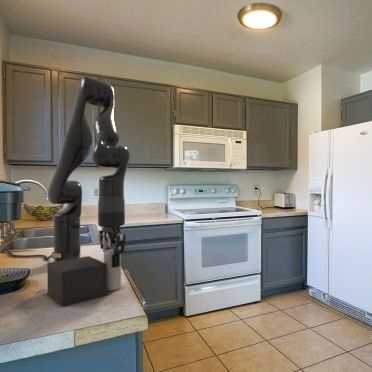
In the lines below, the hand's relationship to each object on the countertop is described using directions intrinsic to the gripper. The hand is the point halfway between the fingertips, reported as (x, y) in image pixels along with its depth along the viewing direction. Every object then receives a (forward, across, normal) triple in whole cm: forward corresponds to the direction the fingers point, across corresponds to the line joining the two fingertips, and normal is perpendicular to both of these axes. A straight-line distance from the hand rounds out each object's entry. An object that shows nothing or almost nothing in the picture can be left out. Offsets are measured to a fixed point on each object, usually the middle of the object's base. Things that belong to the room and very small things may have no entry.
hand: (111, 265), depth 96 cm
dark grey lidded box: (+7, +3, +9) cm, 12 cm away
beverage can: (+8, 0, 0) cm, 8 cm away
